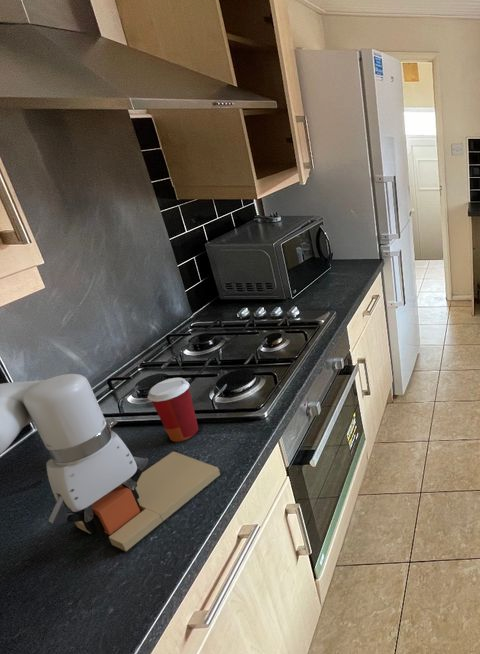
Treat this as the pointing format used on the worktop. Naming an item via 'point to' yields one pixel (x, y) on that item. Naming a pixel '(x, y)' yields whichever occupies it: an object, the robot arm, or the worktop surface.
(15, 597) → the worktop surface
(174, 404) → the paper cup
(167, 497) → the base pad
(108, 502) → the orange block
